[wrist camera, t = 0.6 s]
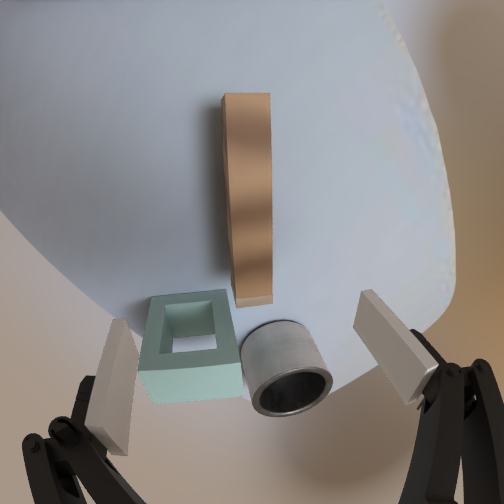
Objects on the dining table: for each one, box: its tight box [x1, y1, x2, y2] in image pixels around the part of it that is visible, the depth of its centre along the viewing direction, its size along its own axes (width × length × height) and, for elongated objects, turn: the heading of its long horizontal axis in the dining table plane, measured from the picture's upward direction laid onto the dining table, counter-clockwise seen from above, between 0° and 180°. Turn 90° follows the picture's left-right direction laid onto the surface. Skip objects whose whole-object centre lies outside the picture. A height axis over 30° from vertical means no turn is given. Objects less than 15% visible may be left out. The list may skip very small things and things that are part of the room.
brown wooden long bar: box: [221, 93, 273, 308], centre depth 29 cm, size 22×4×5 cm, turn 2°
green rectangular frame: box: [137, 289, 244, 403], centre depth 34 cm, size 6×11×14 cm, turn 92°
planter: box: [241, 321, 333, 417], centre depth 42 cm, size 13×13×11 cm
